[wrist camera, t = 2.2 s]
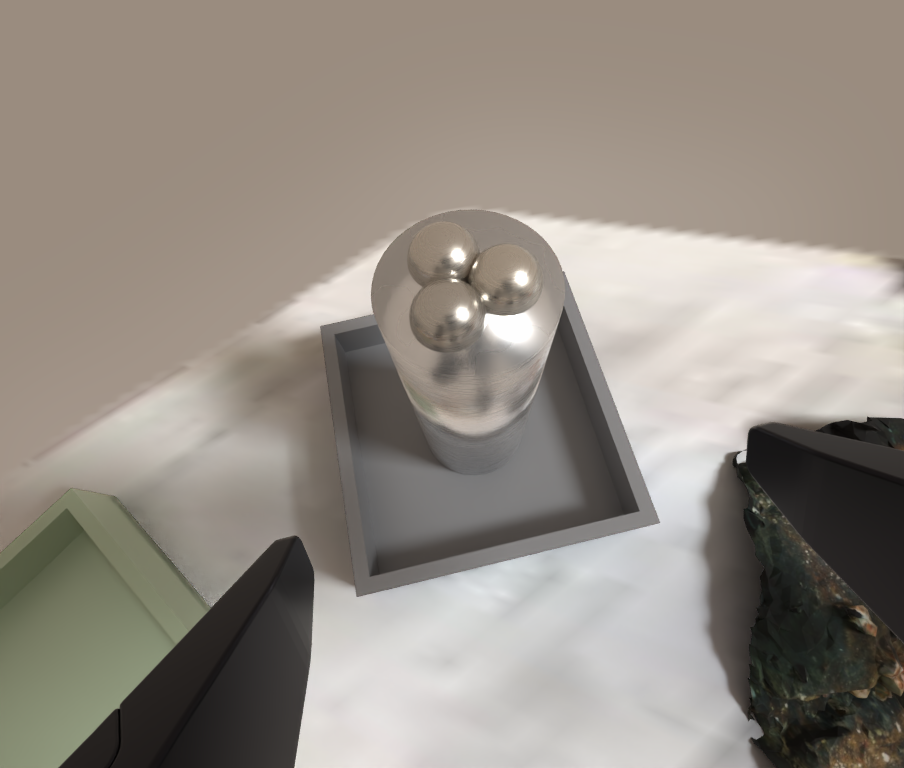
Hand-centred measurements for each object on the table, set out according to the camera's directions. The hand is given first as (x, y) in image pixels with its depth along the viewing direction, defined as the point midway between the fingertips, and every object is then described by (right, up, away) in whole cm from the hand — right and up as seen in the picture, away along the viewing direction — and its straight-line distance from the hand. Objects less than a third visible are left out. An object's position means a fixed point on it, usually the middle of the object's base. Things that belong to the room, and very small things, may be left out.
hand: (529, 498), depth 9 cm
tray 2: (0, 0, +14) cm, 14 cm away
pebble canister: (0, 0, +13) cm, 13 cm away
